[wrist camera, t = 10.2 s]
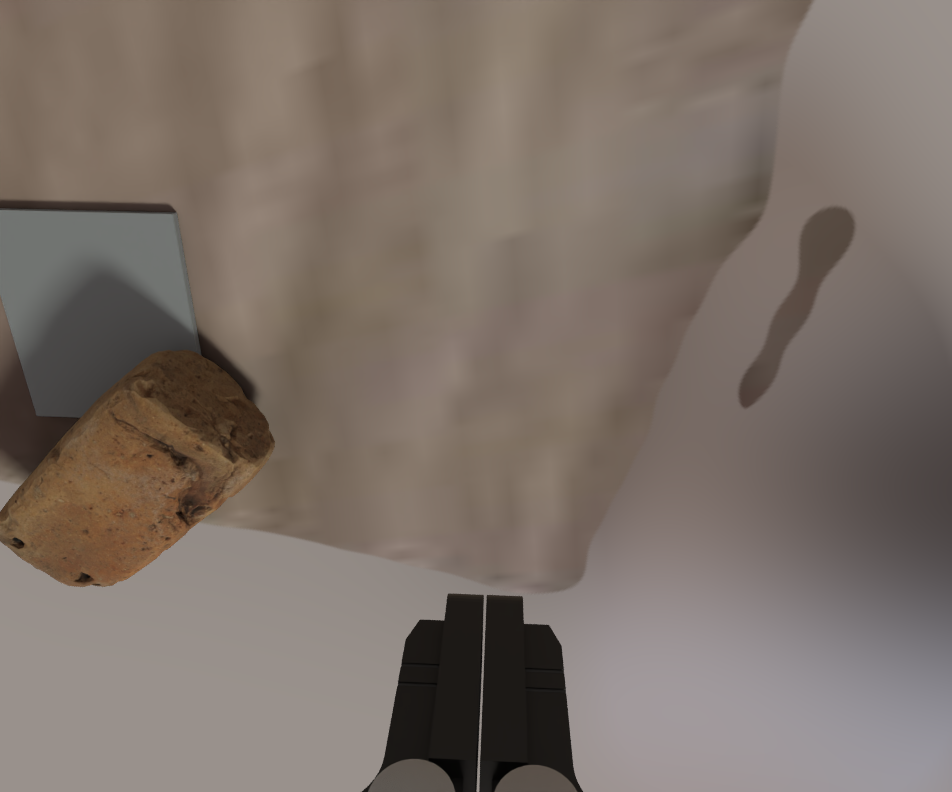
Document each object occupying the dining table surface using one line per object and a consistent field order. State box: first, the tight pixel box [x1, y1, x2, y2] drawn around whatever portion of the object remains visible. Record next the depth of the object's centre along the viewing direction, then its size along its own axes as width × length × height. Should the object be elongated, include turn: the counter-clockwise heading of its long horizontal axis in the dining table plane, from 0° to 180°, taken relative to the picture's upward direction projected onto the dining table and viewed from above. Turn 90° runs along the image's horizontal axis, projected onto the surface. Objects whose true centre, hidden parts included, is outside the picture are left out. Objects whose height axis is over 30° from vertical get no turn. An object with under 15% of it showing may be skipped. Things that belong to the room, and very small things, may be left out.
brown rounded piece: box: [0, 350, 275, 587], centre depth 47 cm, size 11×8×20 cm
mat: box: [0, 208, 202, 418], centre depth 46 cm, size 15×13×1 cm
